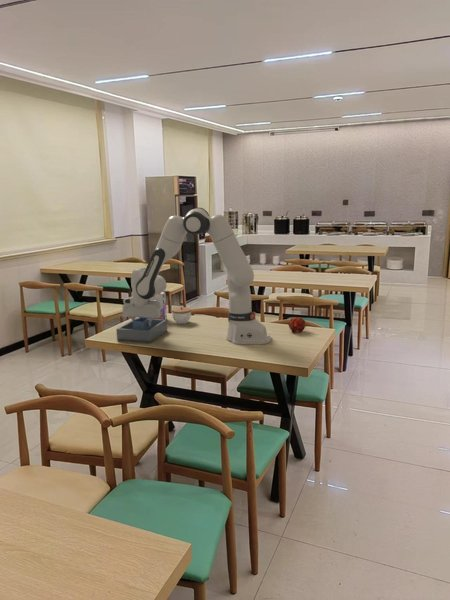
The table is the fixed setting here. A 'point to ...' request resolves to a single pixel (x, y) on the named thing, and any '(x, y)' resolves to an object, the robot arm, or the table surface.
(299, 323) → the dragon fruit
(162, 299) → the candy box
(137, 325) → the tote
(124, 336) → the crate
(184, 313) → the lidded jar
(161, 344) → the table surface
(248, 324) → the robot arm
